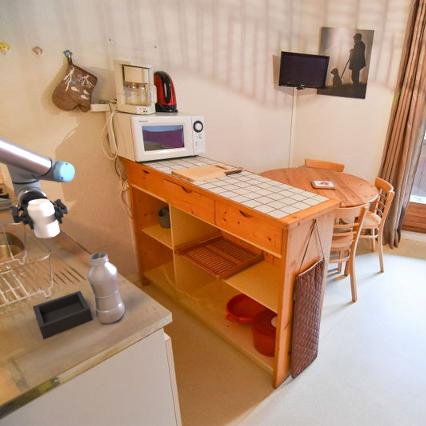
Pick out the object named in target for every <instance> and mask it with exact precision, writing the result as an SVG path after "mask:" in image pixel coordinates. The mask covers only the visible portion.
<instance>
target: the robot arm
mask: <svg viewBox="0 0 426 426" xmlns="http://www.w3.org/2000/svg"><path fill="white" fill-rule="evenodd" d="M0 164H2V165H5V166H6V168H7V171H8V173H9V176H10V180H11V184H12V187H13V192H14V196H15V197H16V199H17V200H18V203H19V206H14V205H13V206H9V212H10V214H11V216H12V219H13V222H14V224H20V223H21V222H22V224H23V226H27V225H28V226H29V228H30V230H32V231H34V226H33V223H32V220H31V218H30V216H29V213H28V210H27V208H28V205H29V202H30V201H32V200H36V199H48V200H49V202H50V203H51V204H52V205H53V207H54V211H55V215H56V219H57V222H58V224H59V225H62V224H63V220H62V219H63V218H65V216H64V215H68V214H69V210H68V207H67V205H65V204H64V203H63V202H62V199H61V198H57V199H56V200H54V201H52V200H50V199H49V198H48V196H47V195H46V194H45V192H44V191H43V189H42V184H41V182H40V181H47V182H54V183H69V182H71V181H72V180H73V179H74V177H75V175H76V169H75V167H74V165H73V164H71V163H70V162H68V161H64V160H56V159H54V158H51V157H50V156H47V155H44V154H42V153H40V152H38V151H36V150H33V149H31V148H29V147H26V146H24V145H22V144H20V143H18V142H16V141H13V140H11V139H9V138H7V137H4V136H2V135H0ZM20 212H21V213H20Z"/></svg>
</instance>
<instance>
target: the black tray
mask: <svg viewBox="0 0 426 426" xmlns="http://www.w3.org/2000/svg"><path fill="white" fill-rule="evenodd" d="M32 309H33V312H34V315H35V318H36V322H37V325H38V328H39V331H40V333H41V337H42V339H43V340H46V339H48V338H50V337H51V338H52V337H54V336H56V335H58V334H61V333H63V332H66V331H69V330H71V329H74V328H76V327H78V326H81V325H83V324H87V323H89V322H91V321H93V320H94V318H93V315H92V311H91V308H90V306H89V304H88V302H87V301H86V299H85V297H84V295H83V292H82V291H81V290H78V291H75V292H71V293H69V294H66V295H63V296H60V297H57V298H54V299H51V300H48V301H45V302H41V303H39V304H36V305H33V306H32Z"/></svg>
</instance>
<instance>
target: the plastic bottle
mask: <svg viewBox="0 0 426 426" xmlns="http://www.w3.org/2000/svg"><path fill="white" fill-rule="evenodd" d="M89 263H90V264H89V265H90V268H89V269H88V271H87V275H86V278H87V281H88V283H89V286H90V287H91V290H92V293H93V297H94V299H95V301H94V302H95V317H96V320H98V322H100V323H102V324H111V323H115V322H117V321H118V320H121V318H122V317H123V315H124V313H125V308H126V307H125V304H124V302H123V299H122V298H121V294H120V291H119V284H118V276H119V275H118V268H117V267H116V266H115V265H114V264H113V263H112V262H110V258H109V257H108V253H107V252H105V251H99V252H95V253H92V254H91V255H90V256H89Z"/></svg>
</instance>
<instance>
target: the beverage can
mask: <svg viewBox="0 0 426 426" xmlns="http://www.w3.org/2000/svg"><path fill="white" fill-rule="evenodd" d="M49 200H50V199H49V198H48V199H36V200H32V201H30V202H29V205H28V208H27V210H28V213H29V216H30V218H31V220H32V223H33V226H34V229H33V232H34V235H35V238H40V239H51V238H55V237H56V236H57V235H58V234H60V227H59V226H60V225H59V222H58V220H57V219H56V215H55V211H54V207H53V206H54V205H52V204H51V203H50V202H49Z"/></svg>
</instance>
